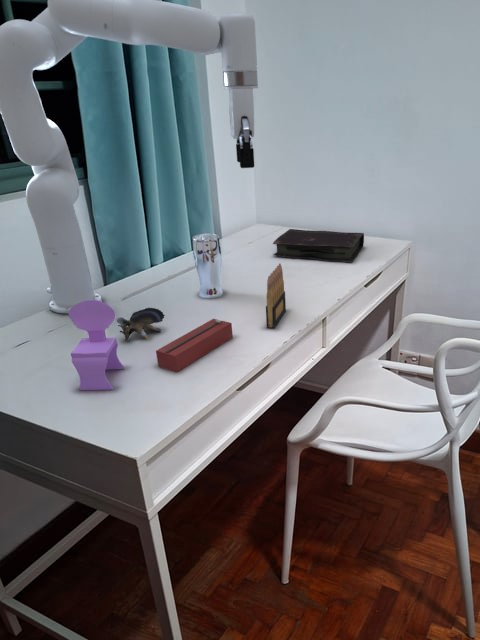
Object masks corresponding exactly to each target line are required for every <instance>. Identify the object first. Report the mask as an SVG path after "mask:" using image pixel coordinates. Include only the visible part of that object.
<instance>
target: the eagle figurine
mask: <svg viewBox="0 0 480 640" xmlns="http://www.w3.org/2000/svg"><path fill="white" fill-rule="evenodd" d="M165 316H166V315H165V314H164V312H163V311H162V310H160V309H159V308H156V307H145V308H143V309H140V310H136V311H134V312H132V314H131V315H130V317H129V320H128V319H125V318H124V317H121V316H120V317H117V318H115V319H116V320H115V321H116V323H117V326H118V327H120V328H121V330H119V333H120V334H123V335H124V342H127V341H128V340H129V339H130V337H131V335H132V334H133V333H136V334H138V335H140V336H141V337H142V338H144V339H145V340H146V341H147V340H148V335H147V333H146V332H145V330H153V331H157V332H161V331H162V329H161V328H160V327H155V326H154V325H153V324H158V323H161V322H163V320H164V319H165Z"/></svg>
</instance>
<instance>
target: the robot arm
mask: <svg viewBox="0 0 480 640" xmlns="http://www.w3.org/2000/svg"><path fill="white" fill-rule="evenodd" d="M256 33H257V32H256V21H255V18H254V16H253V15H252V14H251V13H249V12H227V13H223V14H222V15H221V16H220V15H213V13H211V12H209V11H207V10H206V9H202V8H198V7H193V6H188V5H183V4H179V3H174V2H169V1H163V0H47V7H46V8H45V9H44V10H43V11H41V13H39V14H38V15H37V16H36V17H35V18H33V19H32V20H31V21H30V20H26V19H21V18H19V19H18V18H17V19H11V20H8V21H6V22H4V23H3V24H1V25H0V115H1V118H2V121H3V123H4V126H5V129H6V132H7V135H8V137H9V141H10V143H11V147H12V149H13V152H14V154H15V155H16V157H17V159H19V160H20V161H21V162H23V163H24V164H25V165H28V166H30V167H31V169H32V172H33V174H34V176H32V178H31V179H30V180H29V181H28V183H27V185H26V190H25V200H26V204H27V208H28V210H29V213H30V215H31V218H32V221H33V223H34V226H35V229H36V234H37V236H38V240H39V244H40V248H41V252H42V256H43V259H44V263H45V267H46V271H47V275H48V279H49V284H50V287H47V288H46V293H48V294H51V296H52V300H50V301H49V303H48V306H49V309H50V310H51V311H52V312H54V313H57V314H69V311H70V309H71V308H72V307H73V306H74V305H76V304H78V303H79V302H82V301H85V300H91V299H95V300H99V301H102V302H103V297H102V295H101V294H100V293H97V292H95V290H94V286H93V282H92V276H91V271H90V268H89V262H88V258H87V253H86V249H85V244H84V239H83V236H82V235H83V234H82V231H81V226H80V223H79V220H78V217H77V214H76V211H75V206H74V204H75V203H76V202H77V201H78V198H79V196H80V183H79V179H78V175H77V173H76V169H75V166H74V163H73V160H72V156H71V153H70V150H69V146H68V144H67V140H66V138H65V136H64V134H63V132H62V130H61V129H60V127H59V126H58V125H57V124H56V123H55V122H54V121H52V120H51V119H49V118H48V117H47V116H46V113H45V110H44V107H43V104H42V99H41V97H40V94H39V91H38V89H37V87H36V84H35V82H34V78H33V73H34V71H35V70H37V71H44V70H48V69H50V68H52V67H54V66H56V65H57V64H58V63H59V62H60V61H62V60H63V58H65V57H67V55H69V54H70V53H71V52H72V51H73V50H75V49H76V47H78V46H79V45H80V44H82V43H83V42H84V40H86V39H87V38H94V39H99V40H100V39H101V40H106V41H111V42H117V43H120V44H121V43H122V44H125V45H133V46H157V47H164V48H170V49H176V50H180V51H185V52H191V53H193V54H195V55H197V56H209V55H215V54H219V53H220V55H221V67H222V81H223V82H222V83H223V90H228V112H229V128H230V136H231V138H232V139H233V140H236V144H235V149H236V150H235V151H236V162H237V163H239V167H240V168H241V169H253V168H255V152H254V151H255V150H254V147H253V146H254V144H253V138H254V137H255V104H254V89H258V88H259V82H258V81H259V79H258V59H257V36H256Z"/></svg>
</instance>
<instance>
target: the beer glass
mask: <svg viewBox="0 0 480 640" xmlns="http://www.w3.org/2000/svg"><path fill="white" fill-rule="evenodd" d="M191 238H192V255H193V261H194V266H195V268H196V272H197V275H198V279H199V296H200V298H203V299H216V298H219V297H221V296H223V295H224V291H223V287H222V283H221V271H222V247H221V241H220V236H219V234H216V233H208V232H207V233H199V234H196V235H193V236H192V237H191Z"/></svg>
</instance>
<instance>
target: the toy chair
mask: <svg viewBox="0 0 480 640" xmlns="http://www.w3.org/2000/svg"><path fill="white" fill-rule="evenodd" d="M68 316H69V319H70V320H71V322H72V323H73V324H74V326H75V327H76V328H77V329H79V330H83V331H85V332H86V333H87V335H88V337H83V338H81V339H80V341H79V342H78V344H77V345H76V346H75V348H73V349H72V351H71V352H70V356H71V357H70V358H71V363H72V366H73V367H74V369H75V370H76V372H77V374H78V376H79V389H78V390H79V391H103V390H104V391H105V390H114V389H115V387H114V385H112V384H111V382H109V380H108V379H107V376H106V370H125V369H126V366H125V365H124V364H123V363H122V361H120V359H119V357H118V346H119V342H118V340H117V337H107V335H106V330H107V329H108V328H110V327H111V325H112V324H113V323H114V321H115V319H116V312H115V310H114V309H113V307H111V306H110V305H109V304H107V303H106V302H104V301H103V300H102V301H99V300H95V299H91V300H85V301H82V302H79V303H78V304H76V305H74V306H73V307H72V308H71V309H70V311H69V313H68Z"/></svg>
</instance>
